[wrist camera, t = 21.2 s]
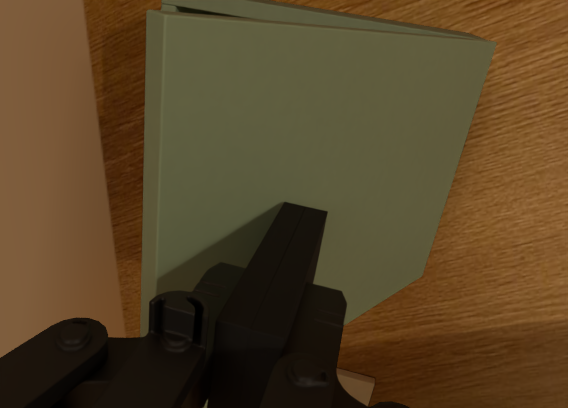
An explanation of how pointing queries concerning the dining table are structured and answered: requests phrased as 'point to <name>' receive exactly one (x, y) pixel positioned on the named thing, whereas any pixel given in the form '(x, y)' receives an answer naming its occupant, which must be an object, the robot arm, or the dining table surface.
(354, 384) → the plate
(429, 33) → the chest
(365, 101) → the chest lid
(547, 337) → the dining table surface
